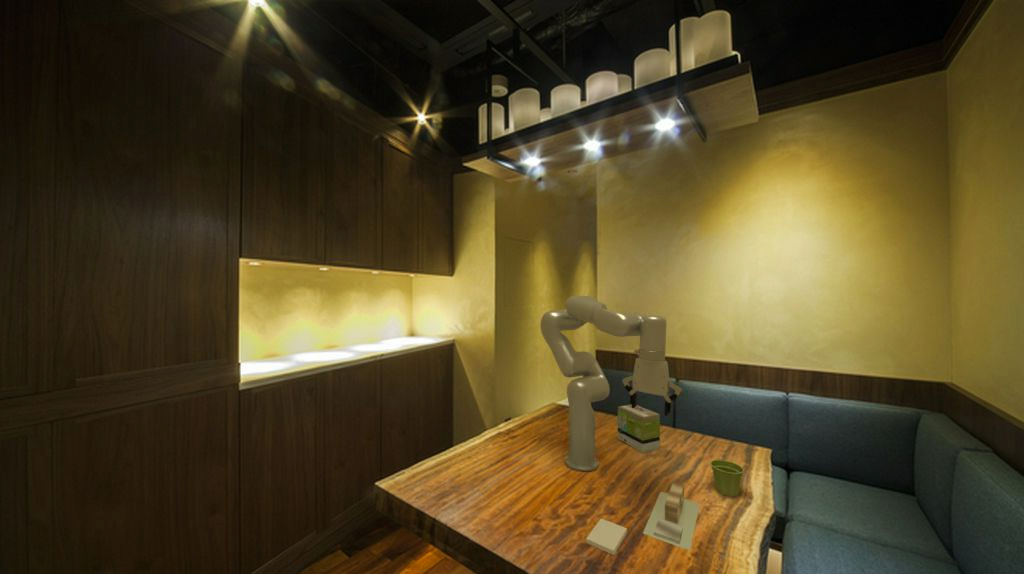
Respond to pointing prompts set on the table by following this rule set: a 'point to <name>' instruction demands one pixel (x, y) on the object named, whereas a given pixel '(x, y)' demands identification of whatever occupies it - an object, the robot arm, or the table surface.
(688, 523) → the board
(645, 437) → the tea box
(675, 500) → the turner
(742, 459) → the table surface
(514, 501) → the table surface
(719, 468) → the plant pot
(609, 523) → the tile
